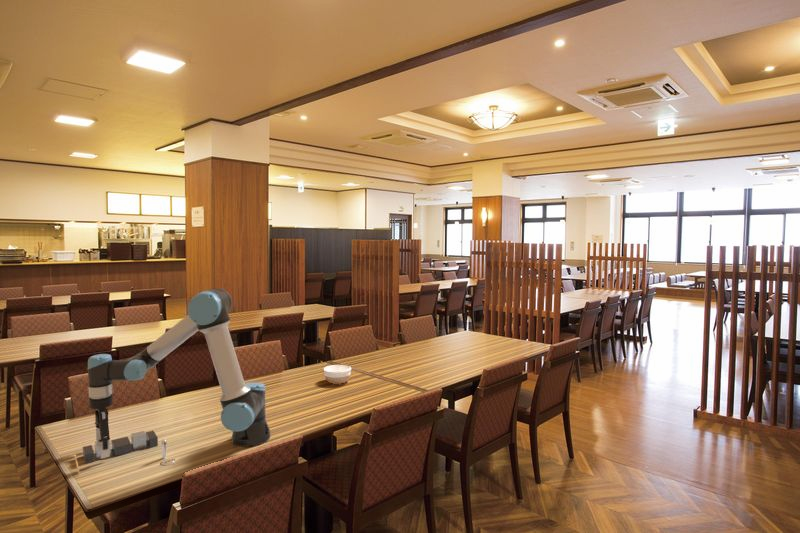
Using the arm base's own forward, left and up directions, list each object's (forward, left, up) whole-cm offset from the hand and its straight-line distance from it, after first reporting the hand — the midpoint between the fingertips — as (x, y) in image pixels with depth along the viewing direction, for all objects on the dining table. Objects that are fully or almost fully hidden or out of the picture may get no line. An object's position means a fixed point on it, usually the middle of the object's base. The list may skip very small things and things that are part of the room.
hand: (102, 450), depth 176 cm
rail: (0, -6, -2) cm, 6 cm away
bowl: (+24, -118, -2) cm, 121 cm away
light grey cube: (0, -12, -2) cm, 12 cm away
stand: (-19, -18, -2) cm, 26 cm away
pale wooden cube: (0, 0, -2) cm, 2 cm away
